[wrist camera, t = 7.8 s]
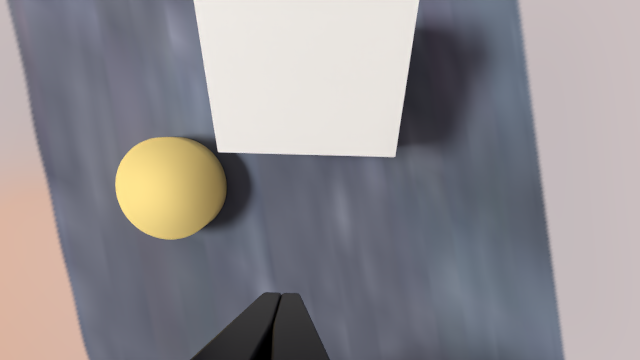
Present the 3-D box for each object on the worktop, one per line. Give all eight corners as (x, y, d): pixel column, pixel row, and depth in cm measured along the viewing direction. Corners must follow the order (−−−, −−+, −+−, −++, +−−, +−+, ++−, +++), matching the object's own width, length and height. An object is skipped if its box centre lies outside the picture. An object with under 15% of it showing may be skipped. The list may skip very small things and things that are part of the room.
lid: (392, 150, 16) (395, 157, 16) (222, 146, 16) (218, 152, 16) (415, -6, 13) (419, -6, 12) (198, -11, 13) (192, -11, 12)
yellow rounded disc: (171, 248, 21) (158, 258, 19) (112, 172, 20) (94, 175, 19) (245, 198, 20) (238, 203, 19) (188, 117, 20) (176, 116, 18)
